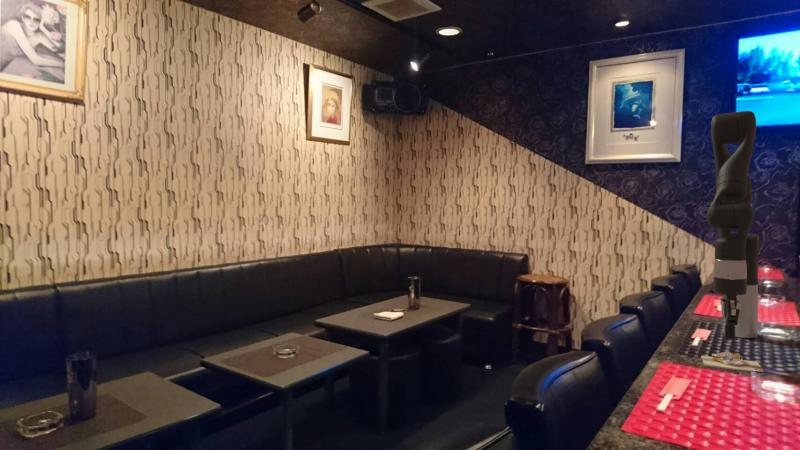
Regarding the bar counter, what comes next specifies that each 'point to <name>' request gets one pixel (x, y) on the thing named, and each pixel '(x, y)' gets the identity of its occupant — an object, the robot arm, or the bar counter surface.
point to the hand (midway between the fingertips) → (729, 338)
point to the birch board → (731, 364)
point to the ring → (727, 357)
